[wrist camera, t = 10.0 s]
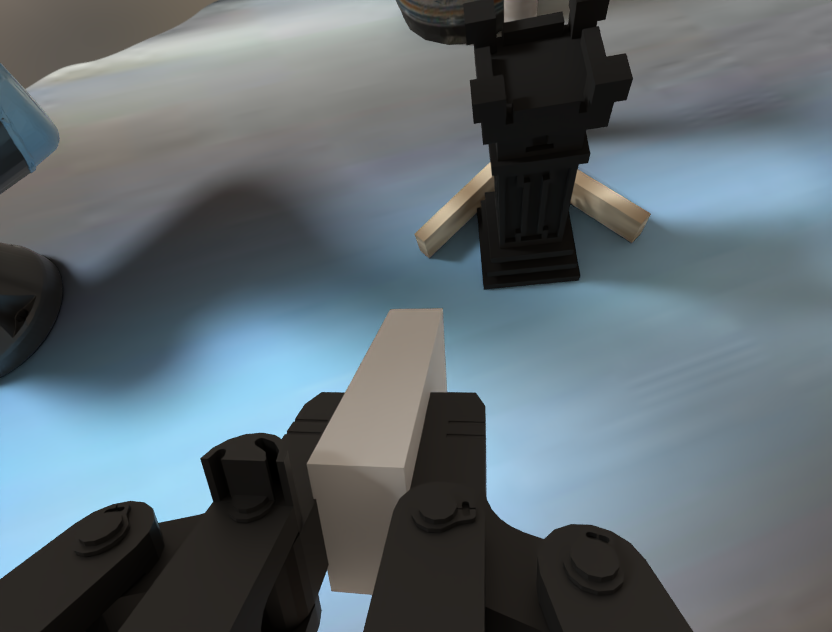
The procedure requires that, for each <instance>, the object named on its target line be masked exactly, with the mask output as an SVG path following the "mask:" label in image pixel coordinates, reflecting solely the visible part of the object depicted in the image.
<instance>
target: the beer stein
mask: <svg viewBox="0 0 832 632" xmlns="http://www.w3.org/2000/svg"><path fill="white" fill-rule="evenodd" d="M474 1H479V0H396V2H397V4H398V6H399V8H400V10H401V12H402V15H403V17H404V19H405V21H406V23H407V25H408V26H409V28H410V30H412V31H413V32H415V33H416V34H418V35H419V36H421V37H422V38H424V39H425V40H428V41H433V42H438V43H443V44H448V45H451V44H463V43H467V42H466V31H465V20H464V8H463V4H464V3H469V2H474ZM494 7H495V15H496V33H498V32H500V31H502V23H504V0H494Z"/></svg>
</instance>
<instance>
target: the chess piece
mask: <svg viewBox="0 0 832 632" xmlns="http://www.w3.org/2000/svg"><path fill="white" fill-rule="evenodd" d="M608 5H609V0H570V1H569V8H570V14H569V22H568V24H567V25H564V17H563V12H557V13H552V14H547V15H541V16H536V17H531V18H526V19H520V20H515V21H510V22H505V23H502V37H497V38H496V15H495V7H494V0H479V1H474V2H469V3H464V4H463V8H464V20H465V31H466V42H467V45H470V44H474V54H475V66H476V76H477V79H474V80H470V87H471V98H472V109H473V121H474V124H476V123H481V128H482V138H483V145H486V144H489V154H490V163H491V173H492V176H494V189H495V191H493V192H485V200H481V207H479V208H477V216H478V228H479V239H480V251H481V263H482V275H483V286H484V289H494V288H505V287H515V286H525V285H536V284H546V283H556V282H567V281H577V280H579V278H580V272H579V266H578V261H577V255H576V249H575V243H574V238H573V232H572V226H571V221H570V215H569V207H570V202H571V197H572V193H573V188H574V183H575V179H576V174H577V170H578V165H579V164H584V163H588V161H589V157H590V150H589V145H588V140H587V135H586V130H587V129H594V128H600V127H607V126H608V123H609V119H610V115H611V112H612V108H613V104H614V102H617V101H623V100H627V97H628V93H629V90H630V87H631V83H632V80H633V77H632V74H631V70H630V66H629V63H628V59H627V55H626V53H625V54H619V55H614V56H608V57H606V53H605V49H604V45H603V41H602V38H601V34H600V30H599V26H597V27H596V25H597V21H600V20H605V19H606V14H607V9H608Z"/></svg>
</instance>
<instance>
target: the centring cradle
mask: <svg viewBox="0 0 832 632" xmlns="http://www.w3.org/2000/svg"><path fill="white" fill-rule="evenodd" d="M537 7H538V0H504V23H505V22H510V21H515V20H520V19H526V18H531V17H536V16H537ZM493 191H495V189H494V176H492V173H491V163H489V164H488V165H487V166H486V167H485V168H484V169H483V170H482V171H481V172H479V173H478V174H477V175H476V176H475V177H474V178H473V179H472V180H471V181H470V182H469V183H468V184H467V185H466V186H465V187H464V188H463V189H461V190H460V191H459V192H458V193H457V194H456V195H455V196H454V197H453V198H452V199H451V200H450V201H449V202H448V203H447V204H446V205H445V206H443V207H442V208H441V209H440V210H439V211H438V212H437V213H436V214H435V215H434V216H433V217H432V218H431V219H430V220H429V221H428V222H427V223H425V224H424V225H423V226H422V227H421V228H420V229H419V230H418V231H417V232H416V233H415V237H416V240H417V243H418V245H419V248H420V251H421V252H422V253H424V254H425V255H426V256H427V257H428V258H430V257H431V256H432V255H433V254H434V253H435V252H436V251H437V250H439V249H440V248H441V247H442V246H443V245H444V244H445V243H446V242H447V241H448V240H449V239H450V238H451V237H452V236H453V235H454V234H455V233H456V232H457V231H458V230H459V229H460V228H461V227H462V226H463V225H465V224H466V223H467V222H468V221H469V220H470V219H471V218H472V217H473V216H474V215H475V214H476V213H477V208H479V207H481V200H485V192H493ZM570 204H572V205H573V206H575V207H577V208H578V209H580V210H581V211H583V212H584V213H586V214H587V215H589V216H590V217H592V218H594V219H595V220H597V221H598V222H600V223H601V224H603V225H604V226H606V227H608V228H609V229H611V230H612V231H614V232H615V233H617V234H618V235H620V236H621V237H623V238H625V239H626V240H628V241H629V242H631V243H632V242H633V241H634V240H635V239H636V238H637V237H638V236H639V235H640V234H641V232H642V230H643V228H644V226H645V225H646V223H647V221H648V219H649V217H650V215H651V214H650V213H649V212H647V211H645V210H644V209H642V208H641V207H639V206H637V205H636V204H634V203H632V202H631V201H629V200H627V199H626V198H624V197H622V196H621V195H619V194H617V193H616V192H614V191H612V190H611V189H609V188H607V187H606V186H604V185H602V184H601V183H599V182H598V181H596V180H594V179H593V178H591V177H589V176H588V175H586V174H584V173H583V172H581V171H579V170H577V174H576V179H575V183H574V188H573V193H572V197H571V202H570Z"/></svg>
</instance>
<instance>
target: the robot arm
mask: <svg viewBox="0 0 832 632" xmlns="http://www.w3.org/2000/svg"><path fill="white" fill-rule="evenodd" d="M58 143H59V132H58V130H57V127H56V126H55V124H54V123H53V122H52V120H51V119H50V118H49V117H48V115H47V114H46V113H45V112H44V111H43V109H42V108H41V107H40V106H39V105H38V104H37V102H36V101H35V100H34V99H33V98H32V97H31V96H30V95H29V93H28V92H27V91H26V90H25V89H24V88H23V87H22V86H21V85H20V84H19V83H18V81H17V80H16V79H15V78H14V77H13V76H12V75H11V74H10V73H9V72H8V71H7V69H6V68H5V67H4V66H3V65H2V64H1V63H0V194H1V193H3V192H4V191H5V190H7V189H8V188H10V187H11V186H12V185H14V184H15V183H17V182H18V181H19V180H21V179H22V178H24V177H25V176H26V175H28V174H29V173H32V172H34V171H35V170H36V166H37V165H38V164H40V163H41V162H42V161H43V160H44V159H45V158H47V157H48V156H49V155H50V154H51V153H52V152H53V151H55V150H56V148H57V146H58ZM62 294H63V286H62V279H61V276H60V273H59V271H58V269H57V267H56V266H55V265H54V264H53V263H52V262H51V261H50V260H49V259H47V258H45V257H43V256H42V255H40V254H38V253H36V252H34V251H32V250H30V249H28V248H25V247H22V246H19V245H12V244H4V243H0V377H2V376H4V375H6V374H7V373H9V372H11V371H12V370H14V369H15V368H17V367H18V366H19V365H21V364H22V363H23V362H24V361H25V360H26V359H28V358H29V357H30V356H31V355H32V354H33V353H34V352H35V350H36V349H37V348H38V347H39V346H40V345H41V343H42V342H43V341H44V339H45V338H46V336H47V335H48V333H49V332H50V330H51V328H52V326H53V324H54V322H55V320H56V318H57V315H58V313H59V309H60V306H61V301H62ZM200 459H201V462H202V466H203V469H204V472H205V476H206V479H207V482H208V486H209V489H210V492H211V496H212V499H213V503H212V504H211V506H210V507H209V508H208V510H207V511H206V512H205V513H203V514H200V515H196V516H191V517H186V518H181V519H176V520H171V521H166V522H161V523H158V521H157V519H156V516H155V513H154V510H153V508H152V507H150V506H149V505H147V504H146V503H144V502H136V501H127V502H122V503H117V504H112V505H110V506H107V507H105V508H102V509H100V510H98V511H95V512H93V513H91V514H90V515H88V516H86V517H85V518H83V519H82V520H80V521H78V522H77V523H75V524H74V525H72V526H71V527H70V528H68V529H67V530H66V531H64V532H63V533H62V534H60V535H59V536H58V537H56V538H55V539H54V540H52V541H51V542H50V543H48V544H47V545H45V546H44V547H43V548H41V549H40V550H39V551H37V552H36V553H35V554H33V555H32V556H31V557H29V558H28V559H27V560H25V561H24V562H23V563H21V564H20V565H19V566H17V567H16V568H15V569H13V570H12V571H11V572H9V573H8V574H7V575H5V576H4V577H3V578H1V579H0V632H317V631H318V628H319V625H320V618H321V611H322V610H321V605H320V601H319V596H318V593H319V590H320V588H321V585H322V582H323V579H324V577H325V574H326V571H328V576H329V581H330V586H331V591H335V592H346V593H358V594H370V595H372V598H371V602H370V606H369V610H368V614H367V618H366V623H365V627H364V631H363V632H693V631H692V629H691V628H690V626H689V625H688V623H687V622H686V620H685V619H684V617H683V616H682V614H681V613H680V611H679V609H678V608H677V606H676V605H675V603H674V602H673V600H672V599H671V597H670V596H669V594H668V593H667V591H666V590H665V588H664V587H663V585H662V584H661V582H660V581H659V579H658V578H657V576H656V575H655V573H654V572H653V570H652V569H651V567H650V566H649V564H648V563H647V561H646V560H645V558H644V557H643V556H642V555H641V554H640V553H639V552H638V551H637V550H636V549H635V548H634V546H633V545H632V544H631V543H629V542H628V541H626V540H625V539H623V538H621V537H620V536H618V535H617V534H615V533H613V532H612V531H609V530H606V529H603V528H599V527H596V526H593V525H579V524H570V525H567V526H564V527H561V528H558V529H555V530H553V531H552V532H551V533H550V534H549V535H548V536H547V537H546V538H545V539H542V538H539V537H536V536H533V535H530V534H527V533H524V532H522V531H520V530H518V529H515V528H513V527H511V526H510V525H508V524H507V523H505V522H504V521H503V520H501V519H500V518H499V517H498V516H497V515H496V514H495V513H494V511H493V510H492V509H491V507H490V505H489V503H488V501H487V497H486V416H485V405H484V404H483V402H482V401H481V399H480V398H479V397H478V395H477V394H476V393H462V392H447V381H446V362H445V343H444V324H443V308H432V309H390V311H389V312H388V314H387V316H386V318H385V320H384V322H383V324H382V325H381V327H380V329H379V331H378V333H377V335H376V337H375V338H374V340H373V342H372V344H371V346H370V348H369V349H368V351H367V353H366V355H365V357H364V359H363V361H362V362H361V364H360V366H359V368H358V370H357V372H356V373H355V375H354V377H353V379H352V381H351V383H350V385H349V386H348V388H347V390H346V392H345V393H341V392H321V393H320V394H318V395H317V396H316V397H314V398H313V399H312V400H310V401H309V402H307V403H306V404H305V405H304V406H303V408H302V409H301V411H300V412H299V414H298V415H297V417H296V418H295V422H293V423H292V424H291V426H290V427H289V429H288V430H287V434H285V435H284V436H283V438H282V439H280V438H279V437H277V436H276V435H272V434H266V433H254V434H245V435H242V436H238V437H235V438H232V439H229V440H227V441H225V442H223V443H221V444H219V445H217V446H215V447H213V448H212V449H211V450H210V451H209V452H207V453H206V454H205V455H204V456H203V457H202V458H200Z"/></svg>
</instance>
